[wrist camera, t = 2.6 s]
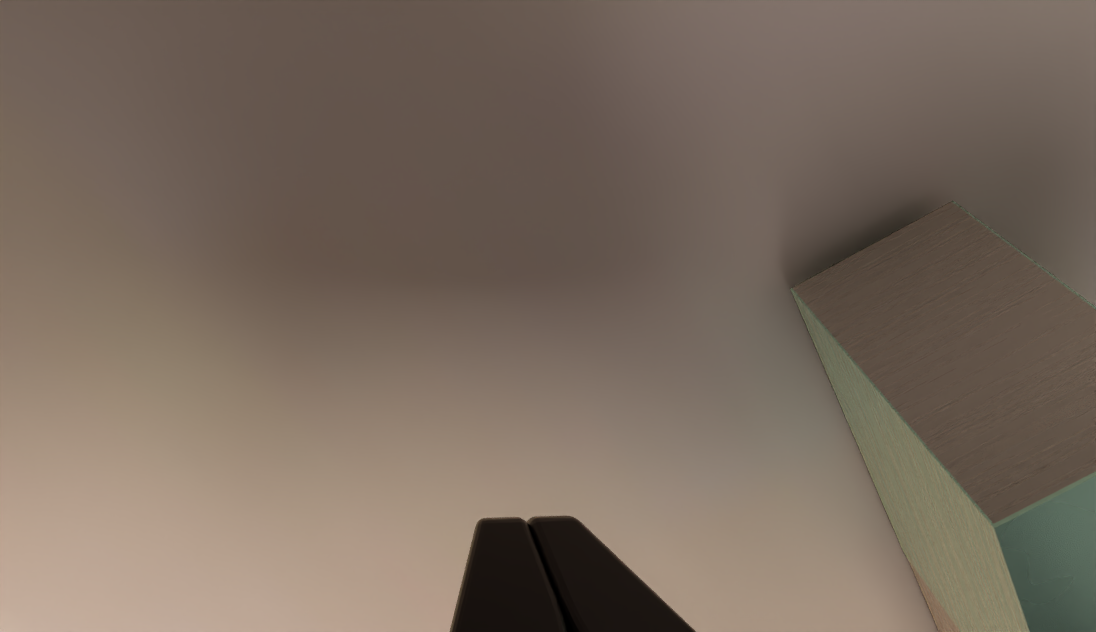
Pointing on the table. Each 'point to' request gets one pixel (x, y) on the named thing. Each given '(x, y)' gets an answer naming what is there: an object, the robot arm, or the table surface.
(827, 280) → the bar
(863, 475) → the table surface
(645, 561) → the table surface
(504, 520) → the robot arm
